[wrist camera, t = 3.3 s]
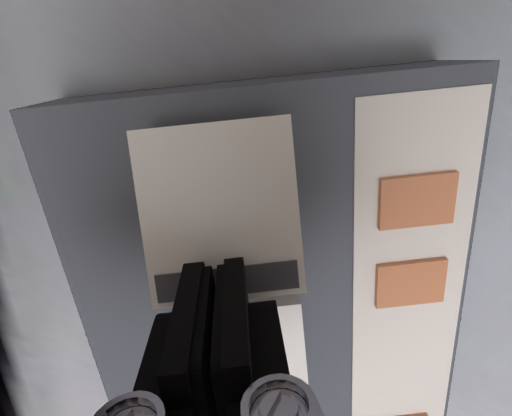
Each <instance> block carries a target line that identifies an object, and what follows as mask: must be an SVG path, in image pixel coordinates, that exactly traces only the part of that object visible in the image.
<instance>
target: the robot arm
mask: <svg viewBox="0 0 512 416" xmlns="http://www.w3.org/2000/svg"><path fill="white" fill-rule="evenodd" d="M94 416H325V415H324V413H323V411H322V409H321V406H320V404H319V402H318V400H317V397H316V395H315V393H314V392H313V390H312V389H311V387H310V386H309V385H308V384H307V383H305V382H304V381H303V380H302V379H300V378H297V377H295V376H293V375H290V373H289V368H288V362H287V357H286V352H285V347H284V341H283V336H282V331H281V325H280V320H279V315H278V310H277V304H276V300H270V301H261V302H252V303H249V300H248V292H247V283H246V275H245V267H244V259H243V257H237V258H228V259H224V264H221V265H217V271H216V285H215V282H214V276H213V270H212V266H205V264H204V262H194V263H185V264H183V267H182V271H181V276H180V280H179V284H178V288H177V292H176V296H175V301H174V305H173V309H172V312H168V313H159V314H157V315H156V316H155V319H154V322H153V325H152V328H151V332H150V335H149V338H148V341H147V345H146V348H145V351H144V355H143V358H142V361H141V365H140V368H139V371H138V375H137V378H136V381H135V384H134V388H133V391H132V392H127V393H125V394H122V395H119V396H117V397H115V398H114V399H112V400H110V401H109V402H107V403H106V404H105V405H104V406H102V407H101V408H100V409H99V410H98V411H97V412H96V413H95V415H94Z"/></svg>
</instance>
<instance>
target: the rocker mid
mask: <svg viewBox="0 0 512 416" xmlns="http://www.w3.org/2000/svg"><path fill="white" fill-rule="evenodd" d="M248 300H249V303H252V302H261V301H270V300H276V304H277V310H278V315H279V320H280V325H281V331H282V336H283V341H284V347H285V352H286V357H287V362H288V368H289V373H290V375H293V376H295V377H297V378H300V379H302V380H303V381H304V382H305V383H307V384H308V385H309V383H308V372H307V361H306V351H305V340H304V329H303V318H302V307H301V302H300V300H299V297H298V295H297V294H291V295H282V296H273V297H264V298H255V299H248Z"/></svg>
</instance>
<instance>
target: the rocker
mask: <svg viewBox="0 0 512 416" xmlns="http://www.w3.org/2000/svg"><path fill="white" fill-rule="evenodd" d="M126 132H127V139H128V146H129V153H130V160H131V167H132V173H133V180H134V187H135V194H136V201H137V207H138V214H139V221H140V228H141V235H142V241H143V248H144V255H145V262H146V269H147V276H148V282H149V289H150V296H151V303H152V310H156V309H165V308H173V305H174V301H175V296H176V292H177V288H178V284H179V280H180V276H181V271H182V267H183V264H185V263H194V262H204V264H205V266H212V270H213V276H214V282H215V285H216V271H217V265H221V264H224V259H228V258H237V257H243V259H244V267H245V275H246V283H247V292H248V299H255V298H264V297H273V296H282V295H291V294H300V293H307V290H306V279H305V268H304V257H303V245H302V234H301V223H300V212H299V201H298V190H297V178H296V167H295V156H294V145H293V134H292V122H291V114H285V115H275V116H266V117H256V118H246V119H236V120H227V121H217V122H207V123H198V124H188V125H178V126H168V127H159V128H149V129H139V130H130V131H126Z"/></svg>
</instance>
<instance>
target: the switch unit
mask: <svg viewBox="0 0 512 416" xmlns="http://www.w3.org/2000/svg"><path fill="white" fill-rule="evenodd" d="M499 61H500V60H435V61H425V62H415V63H406V64H396V65H386V66H376V67H366V68H356V69H346V70H336V71H327V72H317V73H307V74H297V75H287V76H277V77H267V78H257V79H248V80H238V81H228V82H218V83H208V84H198V85H188V86H178V87H169V88H159V89H149V90H139V91H129V92H119V93H109V94H99V95H90V96H80V97H70V98H62V99H57V100H53V101H48V102H44V103H39V104H35V105H30V106H26V107H21V108H17V109H12V110H9V111H10V113H11V116H12V119H13V122H14V125H15V128H16V131H17V134H18V137H19V140H20V143H21V146H22V149H23V151H24V154H25V157H26V160H27V163H28V166H29V169H30V172H31V175H32V178H33V181H34V184H35V187H36V190H37V192H38V195H39V198H40V201H41V204H42V207H43V210H44V213H45V216H46V219H47V222H48V225H49V228H50V230H51V233H52V236H53V239H54V242H55V245H56V248H57V251H58V254H59V257H60V260H61V263H62V266H63V268H64V271H65V274H66V277H67V280H68V283H69V286H70V289H71V292H72V295H73V298H74V301H75V304H76V307H77V309H78V312H79V315H80V318H81V321H82V324H83V327H84V330H85V333H86V336H87V339H88V342H89V345H90V347H91V350H92V353H93V356H94V359H95V362H96V365H97V368H98V371H99V374H100V377H101V380H102V383H103V385H104V388H105V391H106V394H107V397H108V400H109V401H110V400H112V399H114V398H115V397H117V396H119V395H122V394H125V393H127V392H132V391H133V388H134V384H135V381H136V378H137V375H138V371H139V368H140V365H141V361H142V358H143V355H144V351H145V348H146V345H147V341H148V338H149V335H150V332H151V328H152V325H153V322H154V319H155V316H156V315H157V314H159V313H168V312H172V309H173V308H165V309H156V310H152V303H151V296H150V289H149V282H148V276H147V269H146V262H145V255H144V248H143V241H142V235H141V228H140V221H139V214H138V207H137V201H136V194H135V187H134V180H133V173H132V167H131V160H130V153H129V146H128V139H127V132H126V131H130V130H139V129H149V128H159V127H168V126H178V125H188V124H198V123H207V122H217V121H227V120H236V119H246V118H256V117H266V116H275V115H285V114H291V122H292V134H293V145H294V156H295V167H296V178H297V190H298V201H299V212H300V223H301V234H302V245H303V257H304V268H305V279H306V290H307V293H300V294H297V295H298V297H299V300H300V302H301V307H302V318H303V329H304V340H305V351H306V361H307V372H308V383H309V386H310V387H311V389H312V390H313V392H314V393H315V395H316V397H317V400H318V402H319V404H320V406H321V409H322V411H323V413H324V415H325V416H446V414H447V407H448V400H449V394H450V387H451V381H452V374H453V367H454V361H455V354H456V347H457V341H458V334H459V327H460V321H461V314H462V307H463V301H464V294H465V287H466V281H467V274H468V268H469V261H470V254H471V248H472V241H473V234H474V228H475V221H476V214H477V208H478V201H479V194H480V188H481V181H482V174H483V168H484V161H485V155H486V148H487V141H488V135H489V128H490V121H491V115H492V108H493V101H494V95H495V88H496V81H497V75H498V68H499Z"/></svg>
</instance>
